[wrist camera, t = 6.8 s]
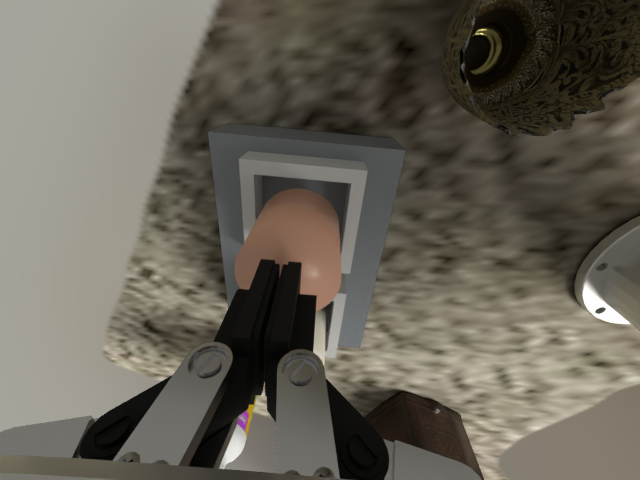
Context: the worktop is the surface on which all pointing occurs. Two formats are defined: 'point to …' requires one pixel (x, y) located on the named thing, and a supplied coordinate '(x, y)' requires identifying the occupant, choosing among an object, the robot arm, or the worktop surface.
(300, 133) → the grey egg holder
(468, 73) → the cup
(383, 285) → the worktop surface
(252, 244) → the brown egg
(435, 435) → the dark brown coffee grinder
